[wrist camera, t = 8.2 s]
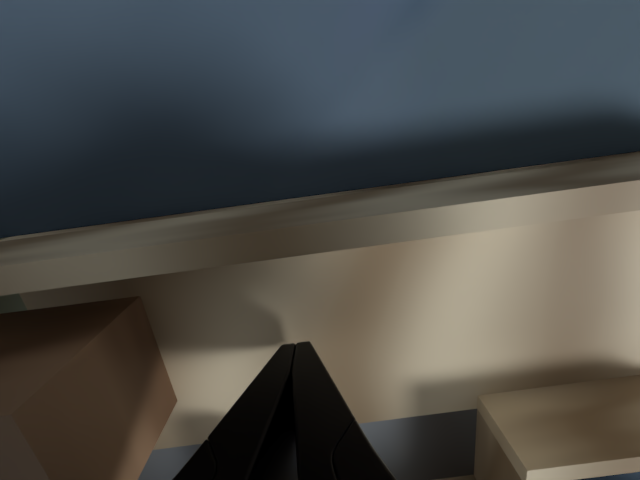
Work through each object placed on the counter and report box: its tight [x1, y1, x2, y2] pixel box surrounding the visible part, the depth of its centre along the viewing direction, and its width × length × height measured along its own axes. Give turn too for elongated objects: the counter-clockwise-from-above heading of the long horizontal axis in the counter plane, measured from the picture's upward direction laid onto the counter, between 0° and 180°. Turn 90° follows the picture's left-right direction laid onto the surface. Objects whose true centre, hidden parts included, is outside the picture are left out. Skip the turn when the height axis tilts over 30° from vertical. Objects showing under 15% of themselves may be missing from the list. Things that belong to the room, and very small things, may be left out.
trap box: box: [0, 151, 640, 480], centre depth 9 cm, size 24×12×3 cm, turn 97°
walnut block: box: [0, 296, 177, 480], centre depth 8 cm, size 6×4×4 cm, turn 97°
